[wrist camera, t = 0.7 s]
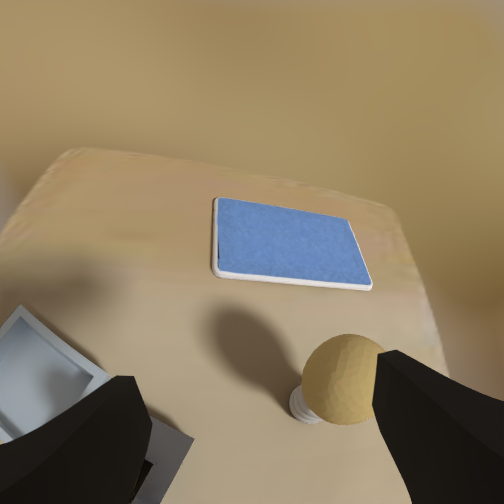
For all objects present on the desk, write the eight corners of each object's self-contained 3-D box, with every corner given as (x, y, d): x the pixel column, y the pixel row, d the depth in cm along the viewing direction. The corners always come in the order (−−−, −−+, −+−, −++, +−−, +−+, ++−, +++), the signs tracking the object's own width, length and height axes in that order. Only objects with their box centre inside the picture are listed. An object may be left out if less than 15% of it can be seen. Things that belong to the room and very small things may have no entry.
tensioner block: (136, 541, 12) (134, 548, 11) (54, 490, 13) (43, 491, 11) (191, 441, 19) (194, 438, 18) (112, 396, 20) (107, 388, 18)
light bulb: (259, 422, 22) (314, 388, 15) (286, 361, 26) (340, 303, 19) (326, 449, 21) (404, 424, 14) (345, 388, 26) (414, 341, 19)
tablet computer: (211, 280, 31) (213, 272, 30) (213, 201, 39) (215, 193, 38) (370, 294, 35) (376, 288, 34) (344, 223, 44) (348, 217, 43)
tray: (53, 477, 14) (42, 477, 12) (-29, 397, 14) (-43, 387, 13) (113, 383, 21) (108, 374, 19) (29, 318, 21) (20, 304, 20)
